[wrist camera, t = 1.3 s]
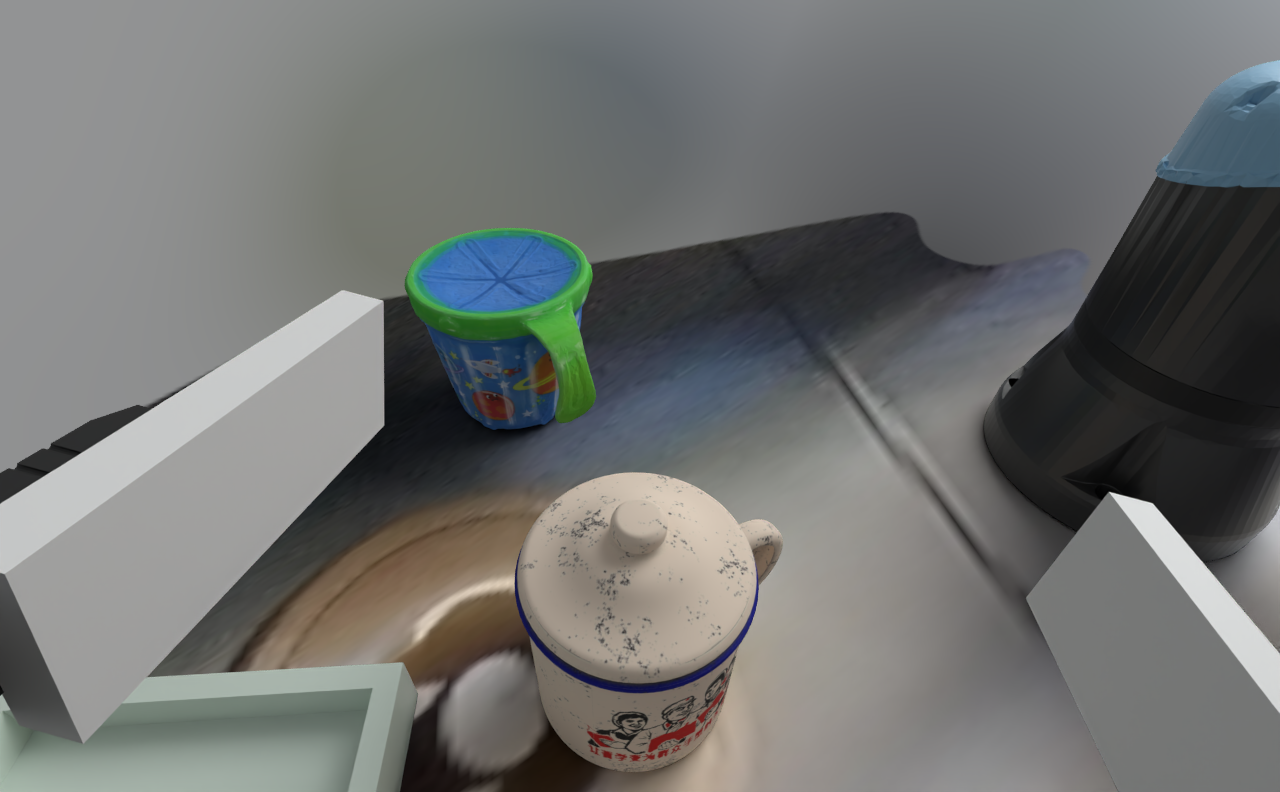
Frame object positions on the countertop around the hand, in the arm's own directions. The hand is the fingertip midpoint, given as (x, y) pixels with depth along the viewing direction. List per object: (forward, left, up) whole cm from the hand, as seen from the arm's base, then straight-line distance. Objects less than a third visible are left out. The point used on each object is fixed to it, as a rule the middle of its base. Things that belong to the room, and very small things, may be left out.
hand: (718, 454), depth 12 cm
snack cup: (+7, -25, -21) cm, 33 cm away
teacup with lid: (-1, -6, -21) cm, 22 cm away
